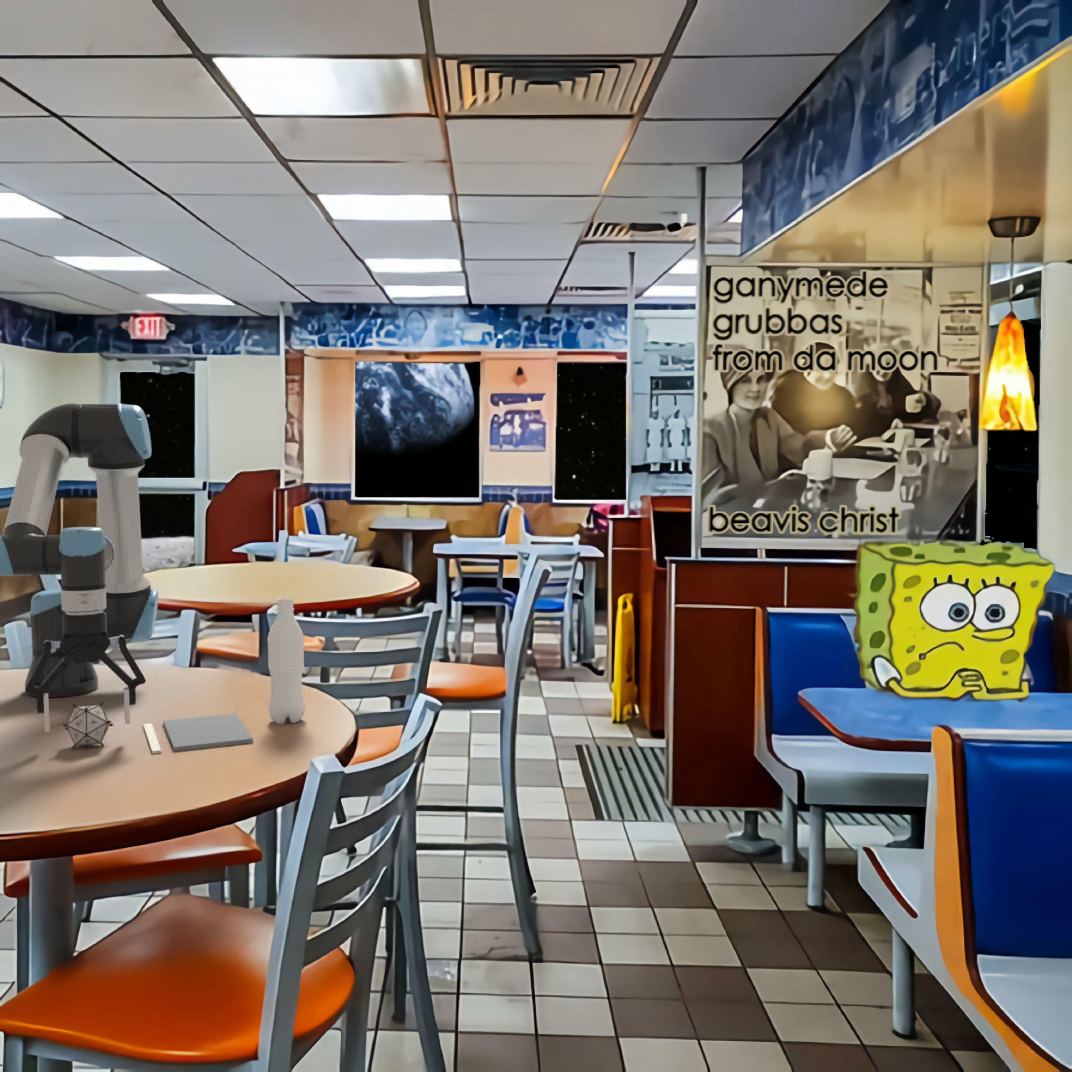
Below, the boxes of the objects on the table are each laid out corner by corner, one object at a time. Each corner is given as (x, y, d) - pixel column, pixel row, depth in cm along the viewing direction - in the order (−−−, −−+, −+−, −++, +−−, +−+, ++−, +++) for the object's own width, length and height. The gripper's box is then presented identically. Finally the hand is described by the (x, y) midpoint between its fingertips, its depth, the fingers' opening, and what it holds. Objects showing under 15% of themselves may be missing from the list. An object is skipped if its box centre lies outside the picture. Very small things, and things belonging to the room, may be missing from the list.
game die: (93, 768, 193) (89, 734, 187) (54, 749, 195) (48, 715, 188) (125, 734, 200) (122, 700, 194) (87, 716, 201) (82, 682, 195)
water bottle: (312, 718, 215) (310, 596, 213) (292, 727, 208) (290, 601, 206) (281, 715, 217) (279, 595, 215) (261, 723, 210) (259, 599, 208)
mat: (163, 724, 209) (163, 720, 209) (235, 717, 215) (235, 713, 215) (174, 751, 191) (174, 747, 191) (252, 742, 197) (252, 738, 197)
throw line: (143, 726, 208) (143, 724, 208) (151, 725, 208) (151, 723, 208) (152, 753, 190) (152, 751, 190) (161, 752, 190) (161, 750, 190)
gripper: (7, 619, 184) (11, 738, 185) (158, 610, 194) (161, 723, 196) (8, 613, 191) (12, 728, 192) (154, 605, 201) (157, 714, 202)
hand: (87, 726), depth 194 cm, fingers open, 13 cm apart
